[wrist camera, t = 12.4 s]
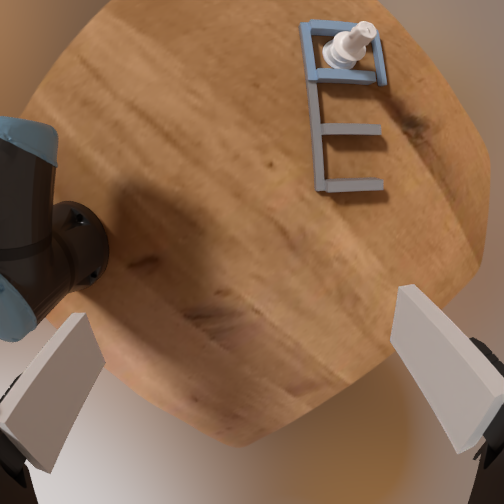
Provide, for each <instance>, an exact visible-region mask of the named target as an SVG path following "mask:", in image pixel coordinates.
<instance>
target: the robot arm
mask: <svg viewBox="0 0 504 504" xmlns="http://www.w3.org/2000/svg"><path fill="white" fill-rule="evenodd" d="M57 149H58V134H57V131H56V130H55V129H54V128H53V127H52V126H50V125H47V124H44V123H40V122H35V121H30V120H25V119H19V118H13V117H4V116H0V339H1V340H4V341H7V342H17V341H19V340H21V339H23V338H24V337H25V336H26V335H27V334H28V333H29V332H30V331H33V330H34V329H35V328H36V327H37V325H38V324H39V323H40V322H41V321H42V320H43V319H44V318H45V317H46V316H47V314H48V313H49V312H50V311H51V310H52V309H53V308H54V307H55V306H56V305H57V304H58V303H59V302H60V301H61V300H62V299H63V298H64V297H65V296H66V295H67V294H68V293H71V292H75V291H78V290H82V289H85V288H87V287H89V286H91V285H92V284H93V283H94V282H95V281H96V280H97V279H98V278H99V277H100V276H101V275H102V274H103V272H104V271H105V268H106V266H107V263H108V257H109V246H108V240H107V236H106V233H105V230H104V228H103V226H102V224H101V223H100V221H99V219H98V218H97V217H96V216H95V214H94V213H93V212H92V211H91V210H89V209H88V208H87V207H85V206H84V205H82V204H80V203H77V202H73V201H64V202H60V203H57V204H55V205H53V197H54V184H55V174H56V168H57V167H58V164H57V162H56V161H57ZM390 342H391V343H392V345H393V347H394V348H395V350H396V351H397V353H398V354H399V356H400V357H401V359H402V360H403V362H404V363H405V365H406V367H407V368H408V370H409V372H410V373H411V374H412V376H413V378H414V380H415V381H416V383H417V384H418V386H419V388H420V389H421V391H422V392H423V394H424V396H425V398H426V399H427V401H428V403H429V404H430V406H431V408H432V409H433V411H434V413H435V415H436V416H437V418H438V420H439V422H440V423H441V425H442V427H443V429H444V430H445V432H446V434H447V436H448V438H449V439H450V441H451V443H452V445H453V447H454V449H455V451H456V452H457V454H460V453H461V452H464V451H465V450H467V449H469V448H471V447H473V446H475V445H476V443H477V442H478V441H479V439H480V438H481V437H482V435H483V436H484V437H485V439H486V442H485V443H484V444H483V445H482V447H481V448H480V449H479V450H478V452H477V453H476V454H475V456H474V458H473V460H476V459H477V458H478V456H479V455H480V454H481V457H480V460H479V461H480V462H479V466H478V470H477V474H476V478H475V482H474V485H473V489H472V492H471V495H470V499H469V501H468V504H504V364H503V363H502V362H501V361H499V359H498V358H497V357H496V356H495V355H494V354H492V351H491V350H490V349H489V348H488V347H487V346H486V345H485V344H484V343H482V342H481V341H479V340H477V339H475V338H473V337H472V338H468V337H466V335H464V333H463V332H462V331H461V330H460V329H459V328H458V327H457V326H456V325H455V324H454V323H453V322H452V321H451V320H450V319H449V318H448V317H447V316H446V315H445V314H444V313H443V312H442V311H441V310H440V309H439V308H438V307H437V306H436V305H435V304H434V303H433V302H432V301H431V300H430V299H429V298H428V297H427V296H426V295H425V294H424V293H423V292H422V291H420V290H419V289H418V288H417V287H416V286H415V285H414V284H412V285H406V286H399V287H398V294H397V301H396V308H395V314H394V320H393V326H392V332H391V337H390ZM105 363H106V362H105V360H104V357H103V355H102V353H101V350H100V348H99V346H98V343H97V341H96V338H95V336H94V333H93V331H92V328H91V326H90V323H89V320H88V318H87V315H86V313H72V314H71V315H70V316H69V318H68V319H67V320H66V321H65V322H64V323H63V324H62V326H61V327H60V328H59V329H58V330H57V331H56V333H55V334H54V335H53V336H52V337H51V339H50V340H49V341H48V342H47V343H46V344H45V346H44V347H43V348H42V350H41V351H40V352H39V353H38V354H37V356H36V357H35V358H34V359H33V361H32V362H31V363H30V365H29V366H28V367H27V368H26V370H25V371H24V372H23V373H22V374H20V375H19V376H18V377H17V378H16V379H15V380H14V381H13V383H12V384H11V385H10V388H8V390H7V391H6V392H5V395H3V396H2V398H1V399H0V504H38V501H37V498H36V495H35V492H34V488H33V484H32V481H31V477H30V473H29V470H28V467H27V466H26V465H25V464H24V463H25V461H26V459H27V460H28V461H29V462H30V463H31V464H32V465H33V466H34V467H35V468H37V469H40V470H42V471H45V472H47V473H51V472H52V469H53V467H54V464H55V462H56V460H57V458H58V456H59V453H60V451H61V449H62V447H63V445H64V442H65V440H66V438H67V436H68V434H69V432H70V430H71V428H72V426H73V424H74V422H75V420H76V418H77V416H78V414H79V412H80V410H81V408H82V406H83V404H84V402H85V400H86V398H87V396H88V394H89V392H90V390H91V389H92V387H93V385H94V383H95V381H96V379H97V377H98V375H99V374H100V372H101V370H102V368H103V366H104V365H105Z"/></svg>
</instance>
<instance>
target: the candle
mask: <svg viewBox="0 0 504 504" xmlns="http://www.w3.org/2000/svg"><path fill="white" fill-rule="evenodd" d="M376 35H377V31H376V28H375V27H374V25H373V24H371V23H368V22H366V21H362V22H360V23H358V24H357V25H356V26H355V27H353V28H352V30H351V32H348V31H343V32H340V33H338V34H336V36H335V37H334V40H331V41H329V42H327V43H326V44H325V45H324V47H323V57H324V59H325V61H326V62H327V63H328V64H329V65H330V66H331V67H333V68H334V69H351V68H353V67H354V66H355V64H356V61H357V60H360V59H362V58H363V57H364V55H365V53H366V47H365V46H367V45H368V44H369V43H370V42H371V41H372V40H373V39H374V38H375V37H376Z"/></svg>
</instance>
